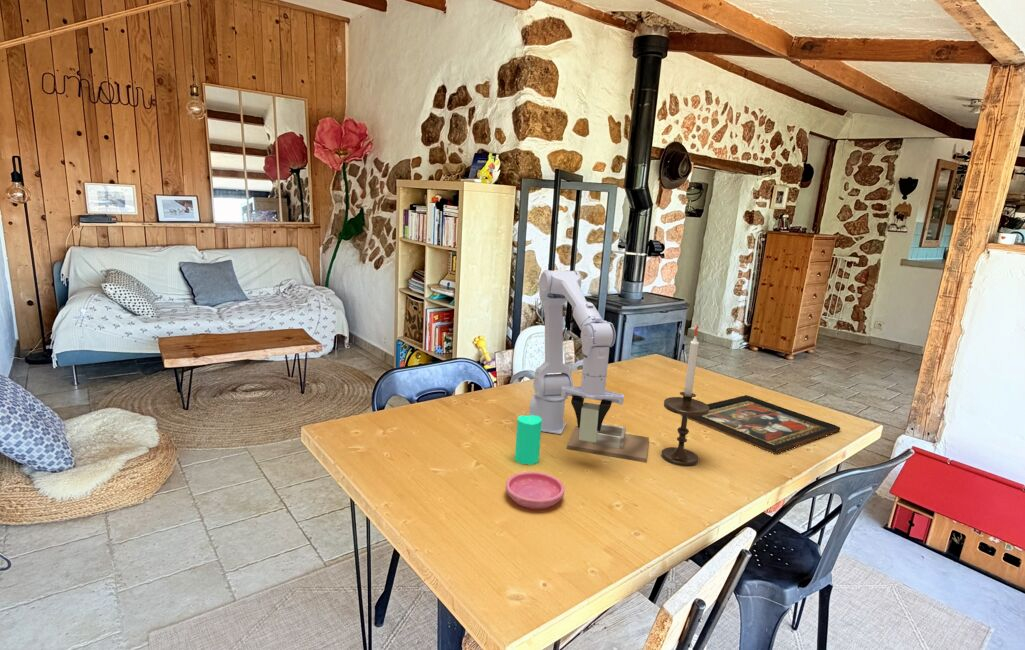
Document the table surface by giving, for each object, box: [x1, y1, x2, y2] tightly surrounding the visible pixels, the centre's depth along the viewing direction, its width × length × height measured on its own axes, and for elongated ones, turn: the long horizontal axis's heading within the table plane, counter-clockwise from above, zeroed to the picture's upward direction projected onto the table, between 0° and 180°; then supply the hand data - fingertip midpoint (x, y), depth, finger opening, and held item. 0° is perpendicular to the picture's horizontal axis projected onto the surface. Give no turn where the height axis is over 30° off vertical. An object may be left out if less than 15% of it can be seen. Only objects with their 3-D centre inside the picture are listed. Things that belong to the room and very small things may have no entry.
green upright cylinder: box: [514, 414, 542, 466], centre depth 135 cm, size 6×6×12 cm
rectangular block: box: [579, 401, 600, 443], centre depth 133 cm, size 4×4×8 cm
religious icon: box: [687, 394, 841, 455], centre depth 169 cm, size 38×35×3 cm
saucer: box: [505, 471, 565, 510], centre depth 118 cm, size 12×12×3 cm
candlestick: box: [660, 323, 709, 467], centre depth 138 cm, size 11×11×35 cm
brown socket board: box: [566, 423, 650, 463], centre depth 147 cm, size 20×14×4 cm
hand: (589, 427), depth 133 cm, fingers closed on rectangular block, 4 cm apart
